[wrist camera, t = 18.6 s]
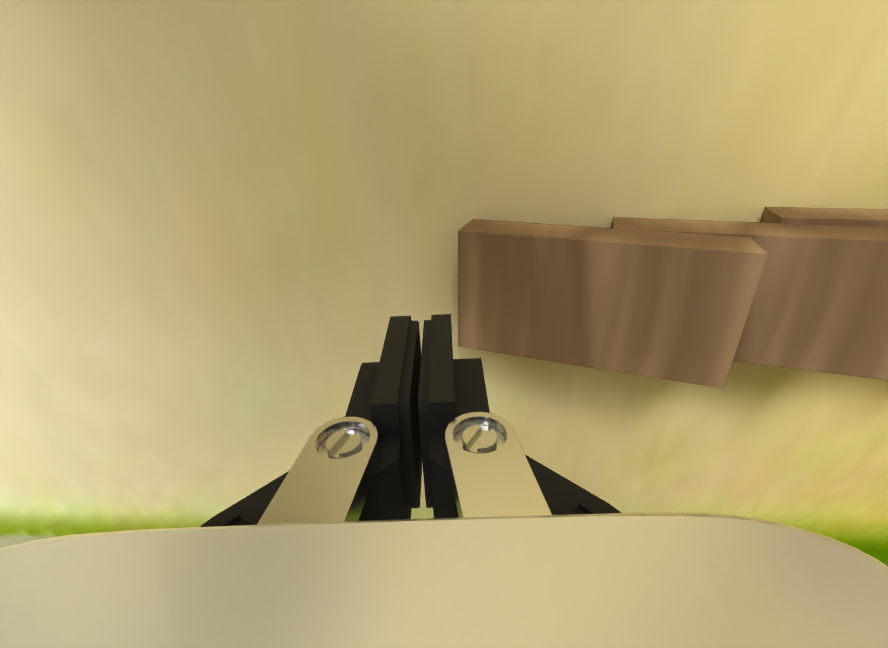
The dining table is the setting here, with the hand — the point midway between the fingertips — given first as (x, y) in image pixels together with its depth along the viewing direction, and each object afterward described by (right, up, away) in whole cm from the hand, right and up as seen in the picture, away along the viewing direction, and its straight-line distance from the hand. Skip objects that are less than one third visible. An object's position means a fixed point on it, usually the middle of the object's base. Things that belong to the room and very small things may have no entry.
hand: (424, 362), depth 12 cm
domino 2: (+7, +3, +6) cm, 10 cm away
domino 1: (+1, +3, +6) cm, 7 cm away
